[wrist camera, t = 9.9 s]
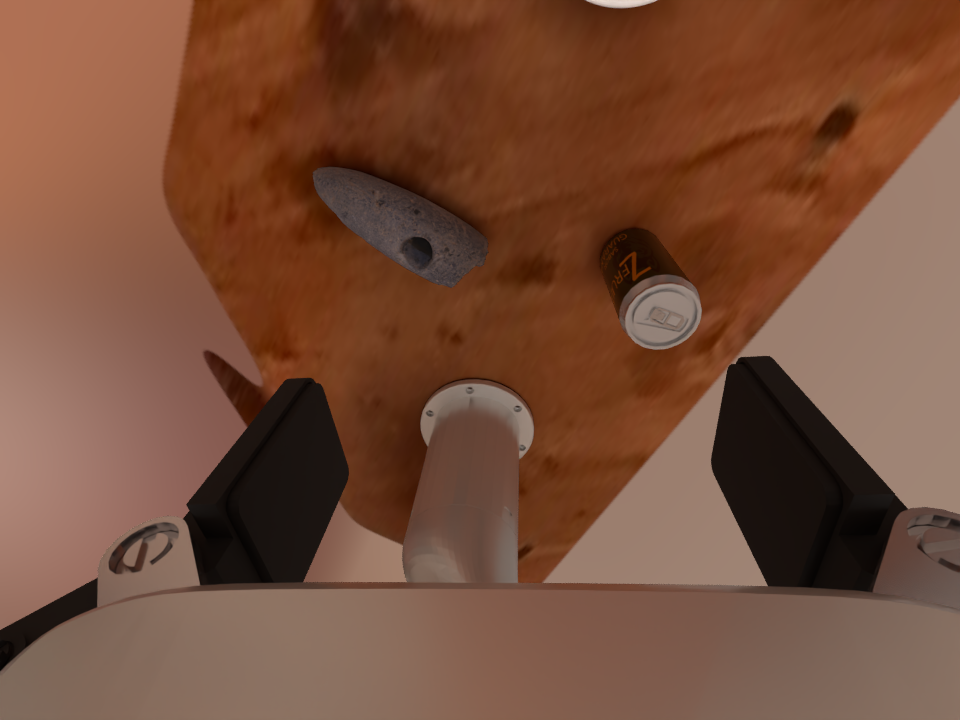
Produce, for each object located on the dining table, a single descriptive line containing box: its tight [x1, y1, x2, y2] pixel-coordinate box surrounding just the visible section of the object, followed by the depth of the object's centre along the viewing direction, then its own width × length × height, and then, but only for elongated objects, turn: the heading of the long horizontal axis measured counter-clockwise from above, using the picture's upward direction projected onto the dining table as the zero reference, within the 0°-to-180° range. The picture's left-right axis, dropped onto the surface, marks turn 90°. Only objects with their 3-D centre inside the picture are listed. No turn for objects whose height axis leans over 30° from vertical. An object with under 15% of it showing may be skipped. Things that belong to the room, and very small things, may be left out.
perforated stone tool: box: [313, 167, 489, 288], centre depth 39 cm, size 15×5×7 cm, turn 60°
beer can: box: [600, 229, 702, 350], centre depth 37 cm, size 5×5×12 cm
